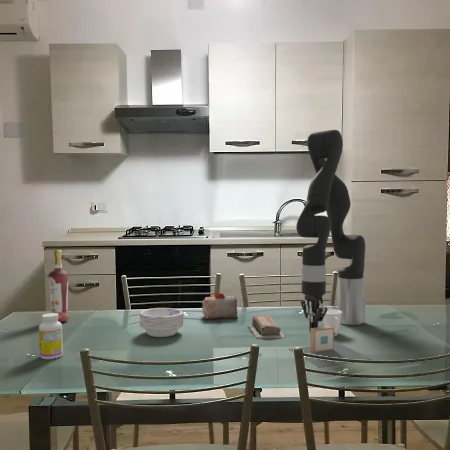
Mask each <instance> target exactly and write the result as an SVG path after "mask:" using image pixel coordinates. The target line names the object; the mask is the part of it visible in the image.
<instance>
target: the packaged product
mask: <svg viewBox="0 0 450 450" xmlns="http://www.w3.org/2000/svg"><path fill="white" fill-rule="evenodd" d="M247 327H248V328H249V330H250V333H251V334H252V336H253V338H255V339H259V340H261V339H280V338H283V339H285V338H286V336H285V335H284V334H283V332H281V328H280V326H279V325H278V324H277V323H276V322H275V321H274V320H273V318H272V317H271V316H269V315H267V314H264V315H253V317H252V321H251V323H250V322H249V323H248V324H247Z"/></svg>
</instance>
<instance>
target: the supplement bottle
mask: <svg viewBox="0 0 450 450" xmlns="http://www.w3.org/2000/svg"><path fill="white" fill-rule="evenodd" d="M41 320H42V322H41V324H39V325H38V336H39V337H38V339H39V340H38V341H39V344H38V345H39V357H40V359H42V360H56V359H58V357H59V358H60V357H62V356H63V354H64V345H63V344H64V343H63V341H64V340H63V325H62V324H63V323H60V322H58V314H57V313H51V312H49V313H43V314H42V315H41ZM55 358H56V359H55Z"/></svg>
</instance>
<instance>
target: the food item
mask: <svg viewBox="0 0 450 450" xmlns="http://www.w3.org/2000/svg"><path fill="white" fill-rule="evenodd" d="M201 304H202V307H201V308H202V314H203V317H204V318H205V319H206V320H221V319H223V320H224V319H238V308H237V306H238V299H237V297H236V296H234V295H224V293H220V292H218V293H215V294H214V296H206V297H204V299H203V300H202V301H201Z"/></svg>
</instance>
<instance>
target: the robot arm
mask: <svg viewBox="0 0 450 450" xmlns="http://www.w3.org/2000/svg"><path fill="white" fill-rule="evenodd" d="M343 143H344V142H343V137H342V134H341V132H340V131H339V130H338V129H328V130H322V131H321V130H320V131H315V132H311V133H309V134H308V136H307V142H306V144H307V150H308V153H309V157H310V159H311V162H312V163H311V164H312V165H313V168H314V172H315V173H316V175H315V176H314V177H313V178H312V180H311V182H310V184H309V186H308V190H307V196H306V201H305V205H304V207H303V209H302V211H301V213H300V215H299V217H298V219H297V222H296V232H297V234H298V236H300V237H301V238H305V239H307V238H308V239H317V241H316V243H315V244H308V245H305V246H303V248H302V250H301V251H302V260H301V261H302V266H301V294H303V295H304V300H301V301H300V305H301V307H302V311H303V313H304V317H305V319H307V321H308V322H309V323H308V326H309V331H308V332H309V334H311V328H316V327H319V322H323V318H324V316H325V314H326V312H327V310H328V307H327V306H324V304H323V303H324V301H323V300H324V299H323V296H325V295H326V294H327V293H326V292H327V270H326V250H327V243H328V240H329V236H330V235H331V242H332V247H333V252H334V254H335V256H336V257H337V258H338V259H341V260H351V263H350V265H348V266H346V267H342V268H339V269H338V271H337V272H338V273H337V285H338V286H337V310H339V311H342V314H341V320H340V325H341V324H342V325H346V326H347V325H348V326H358V325H362V324H365V323H366V297H365V296H364V272H365V257H366V240H365V238H364V236H362V235H360V234H345V233H344V229H343V227H344V222H345V219H346V218H347V216H348V214H349V211H350V208H351V199H350V193H349V190H348V189H349V188H348V187H347V186H346V183H345V182H344V181H343V180H342V179H341V178H340V177H338V176H337V174H336V172H337V170H338V166H339V163H340V159H341V157H342V152H343V146H344V144H343ZM323 213H326V215H320V214H323ZM318 214H319V215H318Z"/></svg>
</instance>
